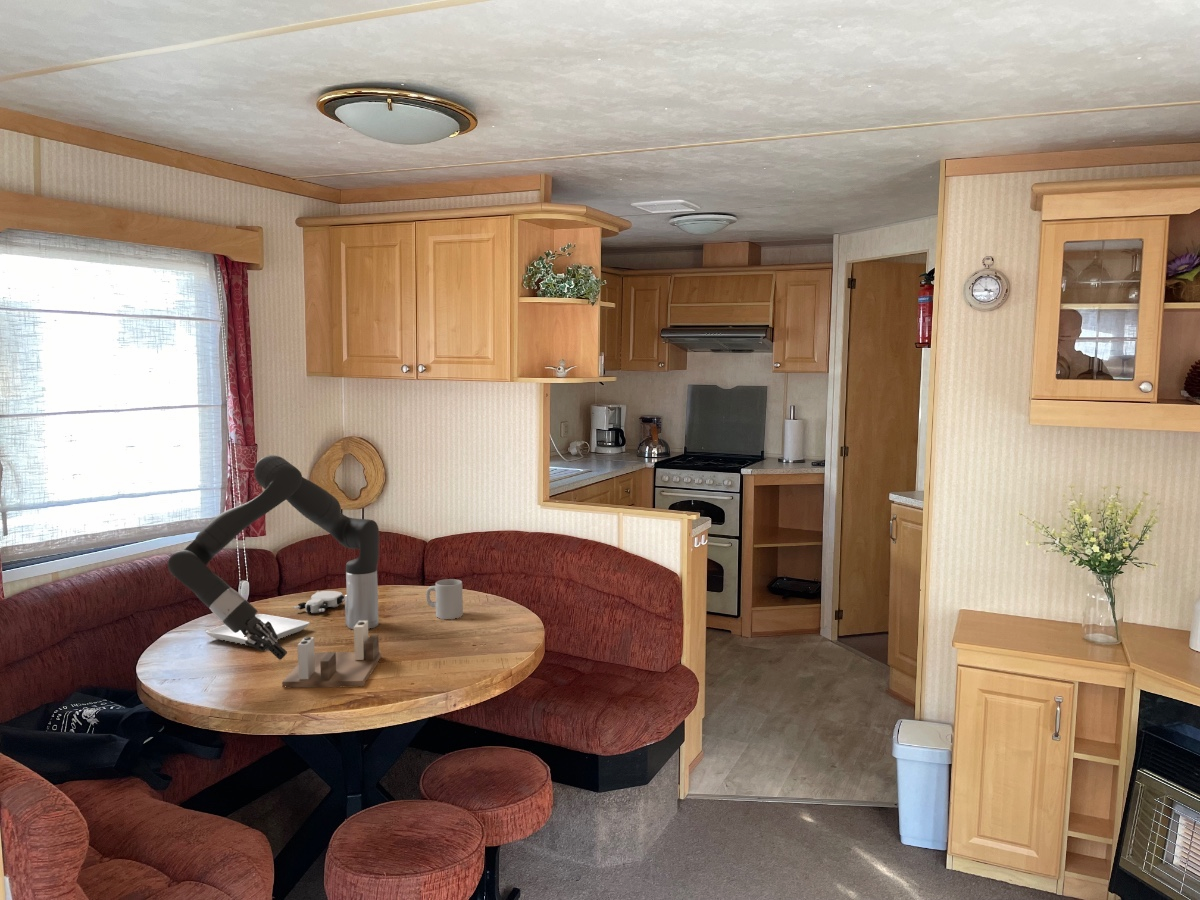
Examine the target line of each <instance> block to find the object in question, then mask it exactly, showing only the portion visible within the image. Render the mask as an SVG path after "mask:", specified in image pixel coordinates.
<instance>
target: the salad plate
mask: <svg viewBox="0 0 1200 900" xmlns="http://www.w3.org/2000/svg"><path fill="white" fill-rule="evenodd" d="M255 617H257V618H258V619H260V620H261V621H262V622H263V623H265V624H266V623H267V622H270V623H271V625H272V627H273V629H274V631H275V633H276V634H277V636H278V639H279V640H281V639H280V638H282V639H284V638H287V637H289V636H291V634H292V635H294V634H296V633H299V632H301V631H303V630H304V629H306V628H307V627H308V626H309V624H310V621H306V620H300V619H295V618H289V617H282V616H278V615H272V614H263V613H257V614H256V615H255ZM205 633H206V635H207V636H209V637H211V638H214V639H217V640H220V641H223V640H225V641H224V642H226V641H230V642H229V643H231V642H235V643H234V644H237V643H240V644H239V645H242V644H245V645H244V646H248V645H247V644H246V643H245V641H246V640H247V637H244V636H245V635H244V634H243V633H242V632H241V630H240V631H238V632H237V633H234V632H233V631H232V630H231V629H230V628H229V627H228V626H227V625H225V624H223V625H219V626H217V627H214V628H211V629H207V630H205ZM288 635H289V636H288ZM286 636H287V637H286ZM283 637H284V638H283ZM263 638H264V637H263ZM278 639H277V641H279V640H278Z"/></svg>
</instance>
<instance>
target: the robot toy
mask: <svg viewBox="0 0 1200 900" xmlns="http://www.w3.org/2000/svg"><path fill="white" fill-rule="evenodd" d="M343 603H345V594H343V593H342V592H341V591H337V590H321V591H319V590H317V591H316V592H315V593H314V594H311V595H310V599H309V600H307V602H300V603H298V604H297V605H295V606H294V607H293V608H294V610H299V611H301V610H304V609H305V613H310V612H311V614H319V613H324V612H326V610H327V608H337V607H338V606H340V605H341V604H343Z"/></svg>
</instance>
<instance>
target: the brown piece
mask: <svg viewBox="0 0 1200 900" xmlns="http://www.w3.org/2000/svg"><path fill="white" fill-rule="evenodd" d="M379 643H380V642H379V634H371V635H370V636H368V640H367V641H366V643H365V652H366V657H365V659H364V660H355V652H354V651H350V652H349V651H347V652H345V651H344V652H343V651H341V652H340V651H338V652H337V651H328V652H315V672H314V673H313V674H312V675H311V677H310V678H309V679H299V672H298V663H297V664H296V665H295V667H294V668H293V669H292V670H291V671H290V672H289V673H288V674H287V676H286V677H284V679H283V680H282V681H281V682H282V683H281V684H282V687H285V686H286V687H290V688H344V687H343V686H363V687H364V686H365V684H366V682H367V681H366V680H368V679H369V677H370V676H371V674H372V673H371V672H373V671H374V670H373V669H375V668H376V666H377V665H378V663H379V662H380V660H381V658H382V652H381V651H380V649H379V648H380V647H379V646H380V644H379ZM379 659H380V660H379ZM378 661H379V662H378ZM377 662H378V663H377ZM376 664H377V665H376ZM374 667H375V668H374ZM372 670H373V671H372ZM370 673H371V674H370ZM369 675H370V676H369ZM367 678H368V679H367ZM365 681H366V682H365ZM364 683H365V684H364ZM340 686H342V687H340Z"/></svg>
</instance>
